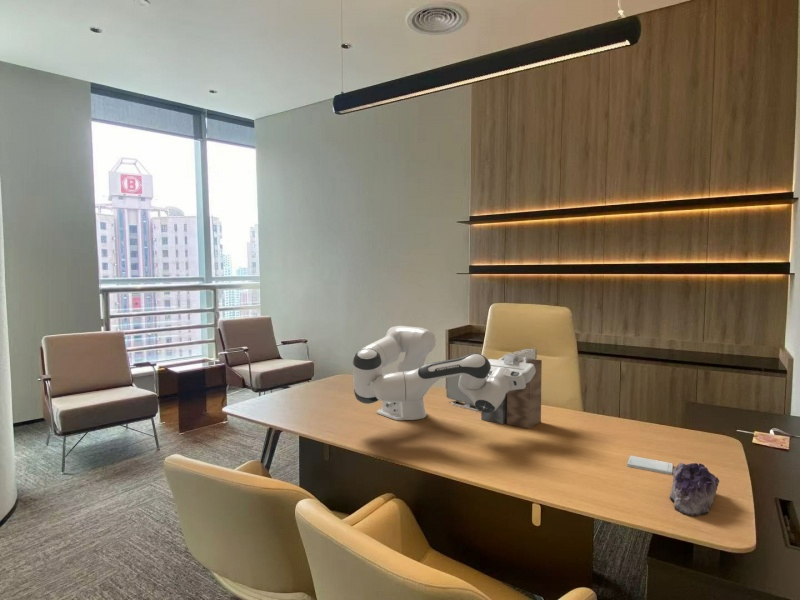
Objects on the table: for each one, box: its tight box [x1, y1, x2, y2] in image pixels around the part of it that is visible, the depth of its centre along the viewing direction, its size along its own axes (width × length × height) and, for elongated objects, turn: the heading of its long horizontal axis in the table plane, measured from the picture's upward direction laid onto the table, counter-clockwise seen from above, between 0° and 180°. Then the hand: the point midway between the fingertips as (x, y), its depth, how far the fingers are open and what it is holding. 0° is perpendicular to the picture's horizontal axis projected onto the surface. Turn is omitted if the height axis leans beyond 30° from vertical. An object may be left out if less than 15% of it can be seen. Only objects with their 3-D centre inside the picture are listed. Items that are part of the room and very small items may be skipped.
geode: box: [669, 462, 720, 518], centre depth 127 cm, size 20×12×10 cm, turn 145°
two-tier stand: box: [480, 359, 543, 429], centre depth 199 cm, size 21×12×26 cm, turn 51°
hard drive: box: [626, 455, 674, 476], centre depth 151 cm, size 2×8×12 cm
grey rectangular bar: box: [503, 348, 538, 365], centre depth 192 cm, size 4×22×4 cm, turn 141°
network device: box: [445, 375, 488, 412], centre depth 222 cm, size 26×9×20 cm, turn 42°
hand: (516, 357), depth 189 cm, fingers open, 6 cm apart
